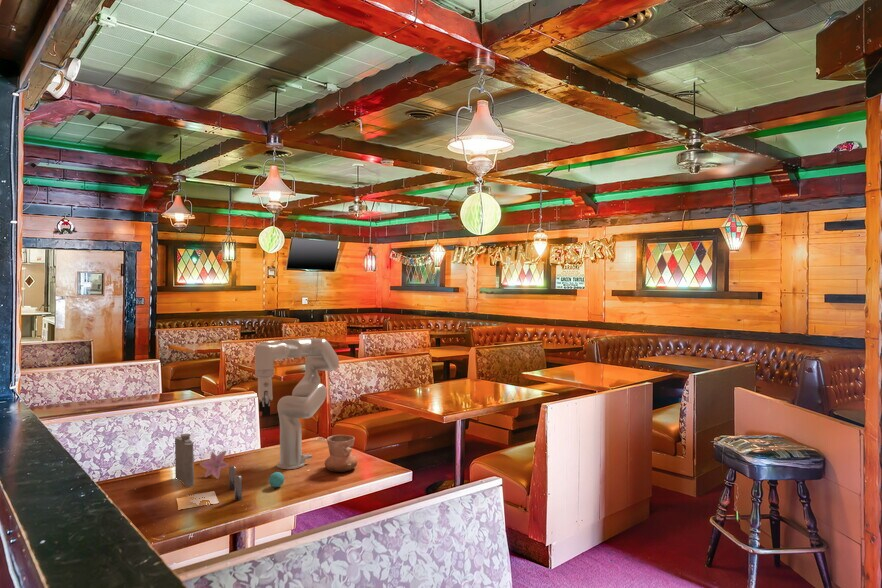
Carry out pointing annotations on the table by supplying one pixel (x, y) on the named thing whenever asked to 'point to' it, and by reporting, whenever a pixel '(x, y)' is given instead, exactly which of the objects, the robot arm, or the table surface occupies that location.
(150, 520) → the table surface
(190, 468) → the hip flask
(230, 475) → the post
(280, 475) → the ball
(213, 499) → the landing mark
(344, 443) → the ceramic jug
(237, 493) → the post
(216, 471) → the lily
